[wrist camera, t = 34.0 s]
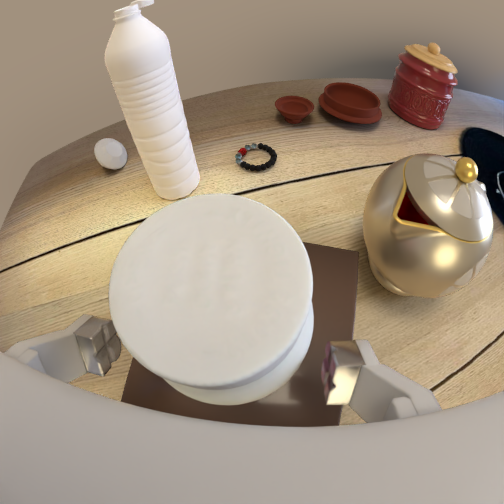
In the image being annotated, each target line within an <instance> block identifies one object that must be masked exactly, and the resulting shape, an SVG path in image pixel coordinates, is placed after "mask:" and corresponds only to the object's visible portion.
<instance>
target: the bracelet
mask: <svg viewBox="0 0 504 504" xmlns="http://www.w3.org/2000/svg"><path fill="white" fill-rule="evenodd" d="M256 147H257V148H259V149H263V150H266V151H267V152H269V153H270V155H271V158H270V160H269V161H268V162H266V163H265V164H262V165H261V166H260V165H257V166H255V165H250V164H248V163H247V164H246V162H245V161H243V162H242V160H241V156H243V155H245V154H246V152H247V150H250V148H251V149H252V148H253V149H255V148H256ZM235 158H236V163H237V164H240V165H241V167H242V168H245V169H246V170H249V169H250V170H251V171H254V170H256V171H260V170H266V168H270V167H271V165H274V163H275V161H276V158H277V154H276V153H275V150H273V149H272V148H271V147H268V146H267V145H263V144H262V143H259V144H258V145H256V144H254V143H253V144H252V145H251V146H249V145H246V146H245V148H241V149H240V150H239V151H238V154H236V156H235Z"/></svg>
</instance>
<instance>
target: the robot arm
mask: <svg viewBox="0 0 504 504" xmlns="http://www.w3.org/2000/svg"><path fill="white" fill-rule="evenodd" d="M116 333H117V332H116V329H115V327H114V324H113V321H112V320H110V319H106V318H101V317H97V316H93V315H87V314H83V315H82V316H81V317H79V318H78V319H77V320H76V321H74V322H73V323H72V324H71V325H69V326H68V327H67V328H66V329H65V330H59V331H55V332H52V333H48V334H44V335H41V336H37V337H34V338H30V339H26V340H23V341H19V342H17V343H16V344H14V345H13V346H12V347H10V348H9V349H8V350H7V351H5V352H4V353H3V352H1V351H0V504H504V391H501V392H499V393H496V394H493V395H490V396H488V397H485V398H482V399H479V400H476V401H473V402H469V403H466V404H463V405H459V406H456V407H452V408H448V409H444V410H442V408H441V407H440V405H439V403H438V402H437V400H436V398H435V396H434V395H433V393H432V391H430V390H428V389H427V388H425V387H423V386H421V385H419V384H418V383H416V382H414V381H412V380H411V379H409V378H407V377H405V376H404V375H402V374H400V373H398V372H397V371H395V370H393V369H391V368H390V367H388V366H386V365H385V364H380V363H379V361H378V359H377V357H376V355H375V353H374V351H373V349H372V347H371V345H370V343H369V341H368V340H349V341H327V344H326V348H325V353H326V358H325V359H324V360H323V363H322V369H321V380H322V384H323V385H324V386H325V389H324V396H325V402H326V405H348V404H349V406H350V407H351V408H352V409H353V410H354V411H355V412H356V413H357V414H358V415H359V416H360V417H361V418H362V419H363V420H364V421H365V422H366V423H364V424H354V425H340V426H320V427H281V426H259V425H246V424H235V423H226V422H218V421H210V420H203V419H197V418H191V417H185V416H180V415H174V414H169V413H164V412H160V411H155V410H151V409H147V408H143V407H139V406H135V405H131V404H128V403H124V402H121V401H117V400H114V399H111V398H107V397H104V396H101V395H98V394H95V393H92V392H89V391H87V390H84V389H81V388H78V387H76V386H73V385H71V384H68V383H69V382H71V381H73V380H75V379H76V378H78V377H80V376H82V375H84V374H86V373H87V372H89V373H93V374H96V375H100V376H105V374H106V373H107V372H108V371H109V369H110V368H111V363H112V362H114V361H116V360H117V359H118V358H119V356H120V353H121V341H120V339H119V337H118V336H117V335H116Z"/></svg>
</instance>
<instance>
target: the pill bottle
mask: <svg viewBox="0 0 504 504" xmlns="http://www.w3.org/2000/svg"><path fill="white" fill-rule="evenodd" d="M312 294H313V275H312V269H311V265H310V260H309V257H308V254H307V251H306V249H305V247H304V244H303V243H302V241H301V239H300V237H299V236H298V234H297V233H296V231H295V230H294V229H293V227H292V226H291V225H290V224H289V223H288V222H287V221H286V220H285V219H284V218H283V217H282V216H280V215H279V214H278V213H277V212H275V211H274V210H272V209H271V208H269V207H267V206H265V205H264V204H262V203H259V202H257V201H255V200H252V199H249V198H245V197H242V196H237V195H232V194H203V195H197V196H193V197H188V198H185V199H182V200H179V201H176V202H174V203H172V204H169V205H167V206H165V207H163V208H161V209H160V210H158V211H156V212H155V213H153V214H152V215H151V216H149V217H148V218H147V219H146V220H144V221H143V222H142V223H141V224H140V225H139V226H138V227H137V228H136V229H135V230H134V231H133V232H132V234H131V235H130V236H129V237H128V239H127V240H126V242H125V243H124V245H123V246H122V248H121V250H120V252H119V254H118V255H117V257H116V260H115V262H114V265H113V268H112V272H111V276H110V283H109V307H110V313H111V318H112V321H113V324H114V327H115V329H116V332H117V334H118V336H119V338H120V340H121V341H122V343H123V345H124V346H125V347H126V349H127V350H128V351H129V352H130V354H131V355H132V356H133V357H134V358H135V359H136V360H137V361H138V362H139V363H140V364H142V365H143V366H144V367H145V368H147V369H148V370H150V371H151V372H153V373H154V374H156V375H158V376H160V377H162V378H163V379H164V380H165V381H166V382H167V383H168V384H170V385H171V386H172V387H173V388H175V389H176V390H177V391H179V392H181V393H182V394H184V395H186V396H188V397H190V398H193V399H195V400H198V401H201V402H205V403H209V404H216V405H240V404H245V403H249V402H253V401H256V400H259V399H262V398H265V397H267V396H269V395H270V394H272V393H273V392H275V391H276V390H278V389H279V388H280V387H281V386H283V385H284V384H285V383H287V381H288V380H289V379H290V378H291V377H292V376H293V375H294V373H295V372H296V371H297V370H298V368H299V366H300V364H301V363H302V361H303V359H304V358H305V355H306V353H307V351H308V348H309V346H310V342H311V338H312V333H313V325H314V314H313V306H312Z"/></svg>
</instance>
